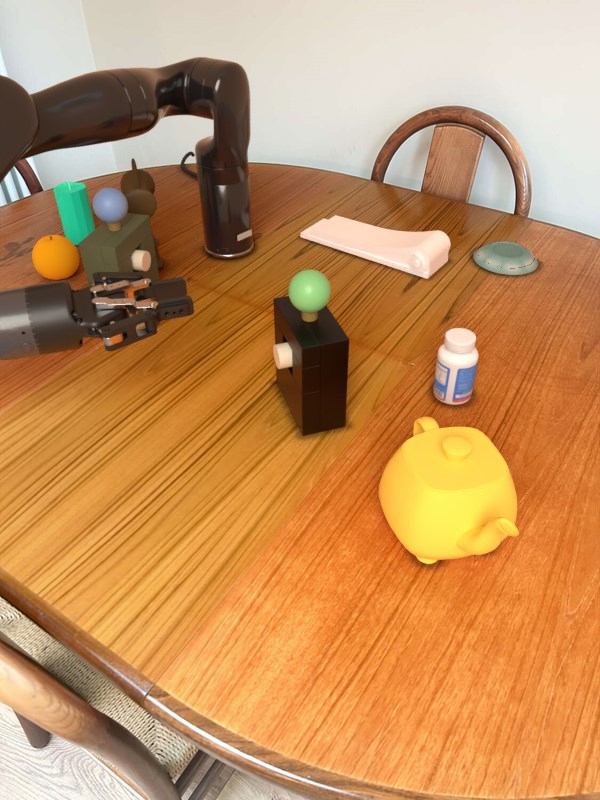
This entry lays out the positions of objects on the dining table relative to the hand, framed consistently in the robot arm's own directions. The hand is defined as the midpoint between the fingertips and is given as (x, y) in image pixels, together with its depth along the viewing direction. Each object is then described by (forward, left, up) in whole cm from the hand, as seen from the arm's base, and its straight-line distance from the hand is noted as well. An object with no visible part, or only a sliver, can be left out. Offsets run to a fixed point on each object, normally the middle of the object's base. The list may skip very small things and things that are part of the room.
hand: (188, 295), depth 75 cm
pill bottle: (-7, +34, -20) cm, 40 cm away
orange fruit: (-42, -31, -20) cm, 56 cm away
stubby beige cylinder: (-3, +11, -13) cm, 17 cm away
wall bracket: (-51, +26, -16) cm, 59 cm away
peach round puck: (-30, -13, -13) cm, 35 cm away
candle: (-57, -31, -20) cm, 68 cm away
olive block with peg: (-31, -16, -20) cm, 40 cm away
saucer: (-46, +51, -17) cm, 71 cm away
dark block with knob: (-5, +14, -20) cm, 25 cm away
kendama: (-45, -15, -20) cm, 51 cm away
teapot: (+18, +29, -20) cm, 40 cm away
